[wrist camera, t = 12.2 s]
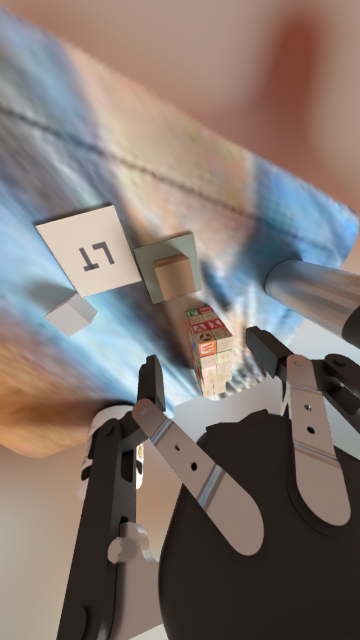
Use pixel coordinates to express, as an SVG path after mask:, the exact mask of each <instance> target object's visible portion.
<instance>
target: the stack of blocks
mask: <svg viewBox="0 0 360 640" xmlns="http://www.w3.org/2000/svg"><path fill="white" fill-rule="evenodd" d="M185 315H186V324H187V330H188V337H189V342H190V347H191V352H192V361H193V366H194V371H195V374H196V377H197V381H198V384H199V387H200V388H201V391H202V395H203V397H207V396H211V395H214V394H218V393H222V392H225V391H226V386H225V384H226V381H230V380H231V378H232V376H231V375H232V371H231V364H232V362H231V361H232V348H233V335H232V334H231V333H230V332H229V330H228V329H227V328H226V326H225V325H224V323H223V322H222V321H221V320H220V318H219V317H218V316H217V315H216V314H215V312H214V311H213V309H212V308H211V307H210V306H207V307H202V308H198V309H194V310H190V311H185Z"/></svg>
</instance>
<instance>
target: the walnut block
mask: <svg viewBox="0 0 360 640" xmlns="http://www.w3.org/2000/svg"><path fill="white" fill-rule="evenodd" d="M153 262H154V269H155V272H156V275H157V278H158V281H159V284H160V288H161V291H162V294H163V297H164V300H165V301H166V300H170V299H173V298H177V297H180V296H184V295H187V294H190V293H194V292H196V290H195V284H194V279H193V273H192V268H191V263H190V258H188V257H187V256H186V255H184V254H183V253H180V254H177V255H173V256H170V257H166V258H163V259H159V260H156V261H153Z"/></svg>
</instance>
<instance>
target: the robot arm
mask: <svg viewBox="0 0 360 640" xmlns="http://www.w3.org/2000/svg"><path fill="white" fill-rule="evenodd" d="M265 292H266V294H267V295H268V296H269V297H271V298H272V299H274V300H276V301H278V302H279V303H281V304H283V305H284V306H286V307H288V308H290V309H291V310H293V311H295V312H296V313H298V314H300V315H302V316H303V317H305V318H307V319H309V320H310V321H312V322H314V323H315V324H317V325H319V326H321V327H323V328H324V329H326V330H328V331H330V332H331V333H333V334H335V335H336V336H338V337H340V338H342V339H343V340H345V341H346V342H348V343H350V344H352V345H354V346H355V347H357V348H359V349H360V275H359V274H355V273H350V272H347V271H343V270H338V269H334V268H330V267H325V266H321V265H316V264H312V263H308V262H302V261H298V260H293V259H289V260H285V261H283V262H281V263H279V264H278V265H276V266H275V267H274V268H273V269H272V271H271V272H270V273H269V275H268V277H267V279H266V282H265ZM246 345H247V347H248V349H249V350H250V351H251V352H252V353H253V355H254V356H255V357H256V358H257V360H258V361H259V362H260V363H261V365H262V366H263V367H264V368H265V369H266V371H267V372H268V373H269V374H270V375H271V377H272V378H273V379H277V378H280V380H281V412H280V415H277V414H272V413H268V411H267V410H266V409H263V410H260V411H257V412H253V413H251V414H249V415H248V416H247V417H245V418H244V419H242V420H241V421H239V422H236V423H217V424H214V425H211V426H208V427H206V431H207V432H205V433H204V434H203V435H202V436H201V437H200V438H199V439H198V441H197V442H196V443H195V442H194V441H193V440H192V439H191V438H190V437H189V436H188V435H187V434H186V433H185V432H184V431H183V430H182V429H181V428H180V427H179V426H177V424H176V423H175V422H173V421H172V420H171V419H169V418H167V417H166V416H165V415H164V414H163V413H162V412H165V411H166V407H165V396H164V385H163V374H162V368H161V365H160V363H159V361H158V359H157V356H156V355H151V356H148V357H147V358H146V364H143V365H142V366H141V368H140V370H139V380H138V381H139V382H138V394H137V402H136V404H135V405H134V407H133V409H132V411H131V412H129V413H128V414H127V415H125V416H124V417H122V418H120V419H119V420H118V419H117V418H111V419H109V420H107V421H106V422H105V423H104V424H103V425H102V426H101V427H100V429H99V432H98V435H97V440H96V445H95V450H94V455H93V460H92V465H91V470H90V475H89V480H88V485H87V490H86V495H85V500H84V505H83V510H82V515H81V520H80V524H79V529H78V534H77V540H76V544H75V549H74V555H73V560H72V564H71V569H70V574H69V580H68V584H67V589H66V594H65V599H64V604H63V609H62V614H61V619H60V624H59V629H58V634H57V639H56V640H129V639H131V638H133V637H135V636H137V635H139V634H141V633H143V632H145V631H147V630H149V629H152V628H154V627H156V626H158V625H160V624H162V623H163V624H164V627H165V630H166V633H167V636H168V639H169V640H360V460H358V459H357V458H355V457H353V456H352V455H350V454H348V453H346V452H344V451H343V450H341V449H340V448H338V447H336V446H334V445H333V441H332V437H331V432H330V427H329V423H328V418H327V413H326V409H325V404H324V399H323V396H324V397H325V398H326V399H327V400H328V401H329V402H330V403H331V404H332V405H333V407H335V409H337V411H338V412H339V413H340V414H341V415H342V416H343V417H344V418H345V419H346V420H347V421H348V422H349V423H350V424H351V425H352V426H353V427H354V429H355V430H356V431H357V432H358V433H359V434H360V366H359V365H358V364H356V363H355V362H354V361H352V360H351V359H349V358H348V357H345V356H343V355H339V354H328V355H326V357H325V359H323V360H309V359H308V358H306V357H304V356H302V355H297V354H294V353H293V352H291V351H290V350H289V349H288V348H287V347H286V346H285V345H284V344H283V343H281V342H280V341H279V340H278V339H277V338H275V336H273V335H272V334H271V333H270V332H268V331H265V330H260V329H259V328H258V327H257V326H253V327H250V328H247V329H246ZM345 386H346V387H347V388H348V389H349V390H348V389H347V388H346V387H345ZM353 393H354V394H355V395H356V396H357V397H356V396H355V395H354V394H353ZM148 438H150V440H151V441H152V443H153V444H154V446H156V448H157V449H158V451H159V452H160V453H161V455H162V456H163V457H164V459H165V460H166V461H167V462H168V464H169V465H170V466H171V468H172V469H173V470H174V472H175V473H176V474H177V475H178V477H179V478H180V479H181V480H182V482H183V483H182V486H181V489H180V492H179V496H178V499H177V502H176V505H175V508H174V512H173V515H172V518H171V521H170V524H169V528H168V531H167V534H166V537H165V540H164V544H163V547H162V551H161V556H160V561H159V562H157V561H156V560H155V559H154V558H153V556H152V555H151V552H150V549H149V543H148V536H147V533H146V530H145V528H144V527H143V526H142V525H140V524H137V523H136V459H137V446H139V445H140V444H141V443H143V442H144V441H145V440H147V439H148Z"/></svg>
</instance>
